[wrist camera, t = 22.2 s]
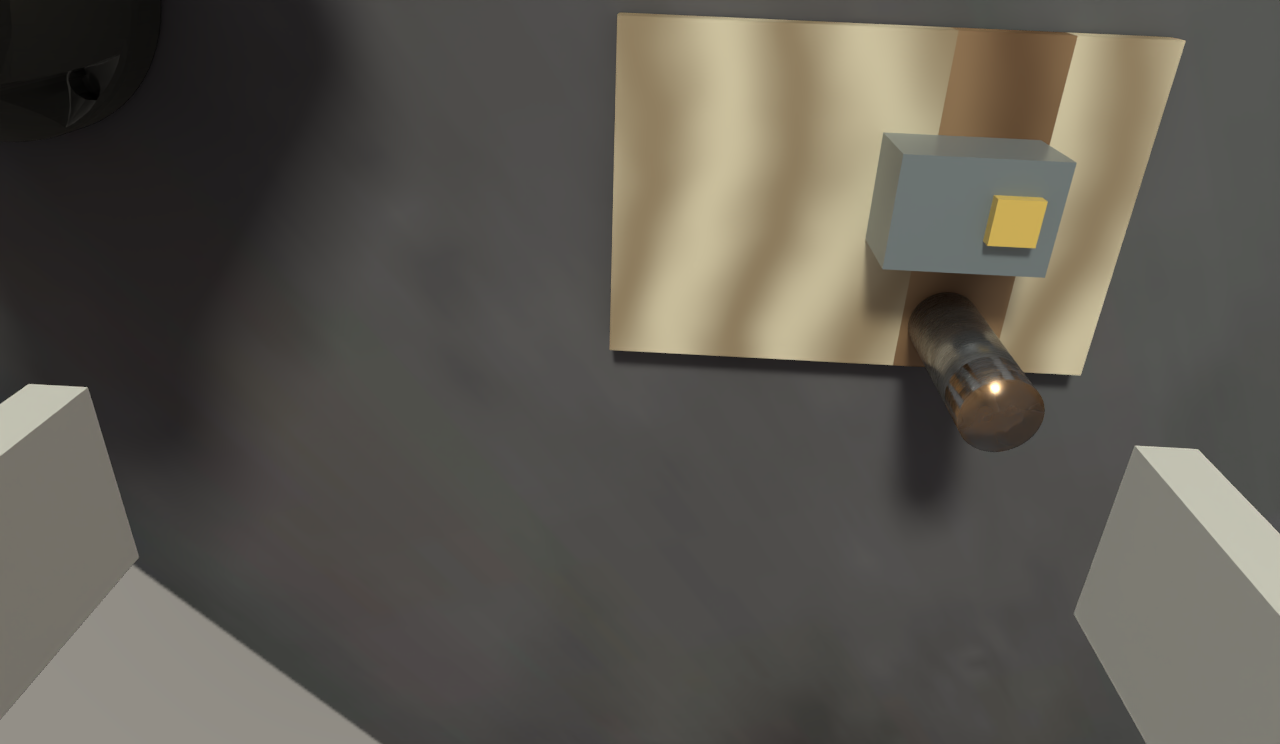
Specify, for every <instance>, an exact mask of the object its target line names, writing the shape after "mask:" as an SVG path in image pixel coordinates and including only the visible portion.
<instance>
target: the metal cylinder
mask: <svg viewBox="0 0 1280 744" xmlns="http://www.w3.org/2000/svg"><path fill="white" fill-rule="evenodd" d="M908 332H909V336H910V339H911V341H912V342H913V344H914V346H915V348H916V350H917V352H918V354H919V356H920V358H921V360H922V362H923V363H924V365H925V367H926V369H927V371H928V373H929V375H930V377H931V379H932V381H933V383H934V384H935V386H936V388H937V390H938V392H939V394H940V396H941V398H942V400H943V402H944V404H945V405H946V407H947V409H948V411H949V413H950V415H951V417H952V419H953V421H954V423H955V425H956V426H957V428H958V430H959V432H960V434H961V436H962V437H963V439H964V440H965V441H966V442H967V443H968V444H970V445H971V446H973V447H974V448H977V449H979V450H983V451H988V452H1000V451H1006V450H1010V449H1013V448H1015V447H1018V446H1020V445H1021V444H1023V443H1025V442H1026V441H1028V440H1029V439H1030V438H1031V437H1032V436H1033V435H1034V434H1035V433H1036V432H1037V430H1038V429H1039V427H1040V425H1041V423H1042V421H1043V417H1044V410H1045V409H1044V403H1043V400H1042V397H1041V396H1040V394H1039V393H1038V391H1037V390H1036V389H1035V387H1034V386H1033V385H1032V383H1031V382H1030V380H1029V379H1028V378H1027V376H1026V375H1025V374H1024V372H1023V371H1022V370H1021V368H1020V367H1019V365H1018V364H1017V363H1016V361H1015V360H1014V359H1013V357H1012V356H1011V355H1010V353H1009V352H1008V350H1007V349H1006V348H1005V346H1004V345H1003V344H1002V342H1001V341H1000V340H999V338H998V337H997V335H996V334H995V333H994V331H993V330H992V329H991V327H990V326H989V325H988V323H987V322H986V320H985V319H984V318H983V316H982V315H981V314H980V312H979V311H978V310H977V308H976V307H975V305H974V304H973V303H972V302H971V301H970V300H969V299H968V298H967V297H965V296H963V295H961V294H958V293H953V292H943V293H938V294H934V295H932V296H930V297H928V298H926V299H924V300H923V301H922V302H920V303H919V304H918V305H917V306H916V308H915V309H914V310H913V312H912V314H911V316H910V318H909V322H908Z"/></svg>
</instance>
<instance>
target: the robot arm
mask: <svg viewBox="0 0 1280 744" xmlns="http://www.w3.org/2000/svg"><path fill="white" fill-rule="evenodd" d="M160 18H161V0H0V141H2V142H24V141H36V140H42V139H48V138H52V137H56V136H59V135H62V134H65V133H68V132H71V131H74V130H77V129H80V128H83V127H86V126H89V125H91V124H94V123H96V122H98V121H100V120H102V119H104V118H105V117H107V116H109V115H110V114H112V113H113V112H115V111H116V110H117V109H119V108H120V107H121V106H122V105H123V104H124V103H125V102H126V101H127V100H128V99H129V98H130V97H131V96H132V95H133V93H134V92H135V91H136V90H137V88H138V87H139V85H140V84H141V82H142V80H143V79H144V77H145V75H146V73H147V71H148V69H149V67H150V64H151V62H152V59H153V56H154V53H155V49H156V46H157V41H158V36H159V29H160ZM138 558H139V556H138V552H137V549H136V546H135V542H134V539H133V536H132V532H131V529H130V526H129V522H128V519H127V516H126V512H125V509H124V506H123V502H122V499H121V496H120V492H119V489H118V486H117V482H116V479H115V476H114V472H113V469H112V466H111V462H110V459H109V456H108V452H107V449H106V446H105V442H104V439H103V436H102V432H101V429H100V426H99V422H98V419H97V416H96V412H95V409H94V406H93V402H92V399H91V396H90V393H89V389H88V387H74V386H56V385H38V384H28V385H26V386H25V387H24V388H22V389H21V390H19V391H18V392H17V393H15V394H14V395H12V396H11V397H10V398H8V399H7V400H5V401H4V402H3V403H1V404H0V719H1V718H2V717H3V716H4V715H5V714H6V712H7V711H8V710H9V709H10V708H11V706H12V705H13V704H14V703H15V702H16V700H18V698H19V697H20V696H21V695H22V694H23V692H24V691H25V690H26V689H27V688H28V687H29V685H30V684H31V683H32V682H33V681H34V680H35V678H36V677H37V676H38V675H39V674H40V673H41V671H42V670H43V669H44V668H45V667H46V666H47V664H48V663H49V662H50V661H51V660H52V659H53V657H54V656H55V655H56V654H57V653H58V652H59V650H60V649H61V648H62V647H63V646H64V645H65V643H66V642H67V641H68V640H69V639H70V637H71V636H72V635H73V634H74V633H75V632H76V631H77V629H78V628H79V627H80V626H81V625H82V623H83V622H84V621H85V620H86V619H87V618H88V616H89V615H90V614H91V613H92V612H93V611H94V609H95V608H96V607H97V606H98V605H99V604H100V602H101V601H102V600H103V599H104V598H105V597H106V595H107V594H108V593H109V592H110V591H111V589H112V588H113V587H114V586H115V585H116V584H117V583H118V581H119V580H120V579H121V578H122V577H123V576H124V574H125V573H126V572H127V571H128V570H129V568H130V567H131V566H132V565H133V564H134V563H135V561H136V560H137V559H138ZM1074 615H1075V617H1076V619H1077V621H1078V622H1079V624H1080V626H1081V628H1082V630H1083V631H1084V633H1085V635H1086V637H1087V638H1088V640H1089V642H1090V644H1091V646H1092V647H1093V649H1094V651H1095V653H1096V655H1097V656H1098V658H1099V660H1100V662H1101V664H1102V665H1103V667H1104V669H1105V671H1106V672H1107V674H1108V676H1109V678H1110V680H1111V681H1112V683H1113V685H1114V687H1115V689H1116V690H1117V692H1118V694H1119V696H1120V697H1121V699H1122V701H1123V703H1124V705H1125V706H1126V708H1127V710H1128V712H1129V714H1130V715H1131V717H1132V719H1133V721H1134V723H1135V724H1136V726H1137V728H1138V730H1139V731H1140V733H1141V735H1142V737H1143V739H1144V740H1145V742H1146V744H1280V534H1279V533H1278V532H1277V531H1276V530H1275V529H1274V528H1273V527H1272V526H1271V525H1270V523H1269V522H1268V521H1267V520H1266V519H1265V518H1264V517H1263V516H1262V515H1261V514H1260V513H1259V512H1258V511H1257V510H1256V509H1255V508H1254V507H1253V506H1252V505H1251V504H1250V503H1249V502H1248V501H1247V500H1246V499H1245V498H1244V497H1243V496H1242V495H1241V493H1240V492H1239V491H1238V490H1237V489H1236V488H1235V487H1234V486H1233V485H1232V484H1231V483H1230V482H1229V481H1228V480H1227V479H1226V478H1225V477H1224V476H1223V475H1222V474H1221V473H1220V472H1219V471H1218V470H1217V469H1216V468H1215V467H1214V466H1213V464H1212V463H1211V462H1210V461H1209V460H1208V459H1207V458H1206V457H1205V456H1204V455H1203V454H1202V453H1201V452H1200V451H1199V450H1198V449H1185V448H1167V447H1149V446H1134V449H1133V452H1132V455H1131V457H1130V460H1129V463H1128V466H1127V468H1126V471H1125V474H1124V477H1123V479H1122V482H1121V485H1120V488H1119V491H1118V493H1117V496H1116V499H1115V502H1114V504H1113V507H1112V510H1111V513H1110V515H1109V518H1108V521H1107V524H1106V526H1105V529H1104V532H1103V535H1102V537H1101V540H1100V543H1099V546H1098V548H1097V551H1096V554H1095V557H1094V559H1093V562H1092V565H1091V568H1090V570H1089V573H1088V576H1087V579H1086V581H1085V584H1084V587H1083V590H1082V592H1081V595H1080V598H1079V601H1078V603H1077V606H1076V609H1075V612H1074Z"/></svg>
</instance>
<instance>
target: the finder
mask: <svg viewBox="0 0 1280 744" xmlns="http://www.w3.org/2000/svg"><path fill="white" fill-rule="evenodd" d="M1076 164H1077V162H1075V161H1073V160H1072V159H1070V158H1069V157H1067V156H1065V155H1064V154H1062V153H1061V152H1059V151H1057V150H1056V149H1054V148H1053V147H1051V146H1049V145H1048V144H1046V143H1045V142H1043V141H1041V140H1028V139H1007V138H987V137H966V136H946V135H925V134H905V133H885V132H883V137H882V143H881V149H880V155H879V161H878V167H877V173H876V179H875V185H874V191H873V197H872V203H871V209H870V214H869V220H868V226H867V232H866V238H865V239H866V241H867V243H868V245H869V246H870V248H871V250H872V252H873V253H874V255H875V257H876V259H877V261H878V262H879V264H880V266H881V268H882V269H886V270H905V271H924V272H943V273H962V274H981V275H1000V276H1019V277H1038V278H1045V276H1046V272H1047V269H1048V265H1049V262H1050V258H1051V254H1052V251H1053V247H1054V243H1055V240H1056V236H1057V233H1058V229H1059V225H1060V222H1061V218H1062V215H1063V211H1064V207H1065V204H1066V200H1067V196H1068V193H1069V189H1070V186H1071V182H1072V178H1073V175H1074V171H1075V168H1076Z"/></svg>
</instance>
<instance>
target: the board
mask: <svg viewBox="0 0 1280 744" xmlns="http://www.w3.org/2000/svg"><path fill="white" fill-rule="evenodd" d="M1184 45H1185V40H1181V39H1177V38H1172V37H1155V36H1132V35H1110V34H1088V33H1065V32H1043V31H1021V30H998V29H976V28H954V27H931V26H909V25H886V24H864V23H842V22H819V21H797V20H775V19H752V18H730V17H708V16H685V15H663V14H641V13H619V14H618V15H617V55H616V98H615V141H614V185H613V228H612V271H611V314H610V350H620V351H638V352H657V353H675V354H694V355H712V356H731V357H749V358H768V359H786V360H805V361H823V362H842V363H860V364H879V365H897V366H916V367H925V365H924V363H923V362H922V360H921V358H920V356H919V354H918V352H917V350H916V348H915V346H914V344H913V342H912V341H911V339H910V336H909V332H908V322H909V318H910V316H911V314H912V312H913V310H914V309H915V308H916V306H917V305H918V304H919V303H920V302H922V301H923V300H924V299H926V298H928V297H930V296H932V295H934V294H938V293H943V292H953V293H958V294H961V295H963V296H965V297H967V298H968V299H969V300H970V301H971V302H972V303H973V304H974V305H975V307H976V308H977V310H978V311H979V312H980V314H981V315H982V316H983V318H984V319H985V320H986V322H987V323H988V325H989V326H990V327H991V329H992V330H993V331H994V333H995V334H996V335H997V337H998V338H999V340H1000V341H1001V342H1002V344H1003V345H1004V346H1005V348H1006V349H1007V350H1008V352H1009V353H1010V355H1011V356H1012V357H1013V359H1014V360H1015V361H1016V363H1017V364H1018V365H1019V367H1020V368H1021V370H1022V371H1023V372H1027V373H1046V374H1064V375H1081V373H1082V369H1083V366H1084V363H1085V360H1086V357H1087V353H1088V350H1089V347H1090V344H1091V341H1092V337H1093V334H1094V331H1095V328H1096V325H1097V322H1098V318H1099V315H1100V312H1101V309H1102V306H1103V302H1104V299H1105V296H1106V293H1107V290H1108V287H1109V283H1110V280H1111V277H1112V274H1113V271H1114V267H1115V264H1116V261H1117V258H1118V255H1119V252H1120V248H1121V245H1122V242H1123V239H1124V236H1125V232H1126V229H1127V226H1128V223H1129V220H1130V216H1131V213H1132V210H1133V207H1134V204H1135V201H1136V197H1137V194H1138V191H1139V188H1140V185H1141V181H1142V178H1143V175H1144V172H1145V169H1146V166H1147V162H1148V159H1149V156H1150V153H1151V150H1152V146H1153V143H1154V140H1155V137H1156V134H1157V130H1158V127H1159V124H1160V121H1161V118H1162V115H1163V111H1164V108H1165V105H1166V102H1167V99H1168V95H1169V92H1170V89H1171V86H1172V83H1173V80H1174V76H1175V73H1176V70H1177V67H1178V64H1179V60H1180V57H1181V54H1182V51H1183V48H1184ZM883 132H885V133H905V134H925V135H946V136H966V137H987V138H1007V139H1028V140H1041V141H1043V142H1045V143H1046V144H1048V145H1049V146H1051V147H1053V148H1054V149H1056V150H1057V151H1059V152H1061V153H1062V154H1064V155H1065V156H1067V157H1069V158H1070V159H1072V160H1073V161H1075V162H1077V164H1076V168H1075V171H1074V175H1073V178H1072V182H1071V186H1070V189H1069V193H1068V196H1067V200H1066V204H1065V207H1064V211H1063V215H1062V218H1061V222H1060V225H1059V229H1058V233H1057V236H1056V240H1055V243H1054V247H1053V251H1052V254H1051V258H1050V262H1049V265H1048V269H1047V272H1046V276H1045V278H1038V277H1019V276H1000V275H981V274H962V273H943V272H924V271H905V270H886V269H882V268H881V266H880V264H879V262H878V261H877V259H876V257H875V255H874V253H873V252H872V250H871V248H870V246H869V245H868V243H867V241H866V239H865V238H866V232H867V226H868V220H869V214H870V209H871V203H872V197H873V191H874V185H875V179H876V173H877V167H878V161H879V155H880V149H881V143H882V137H883Z"/></svg>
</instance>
